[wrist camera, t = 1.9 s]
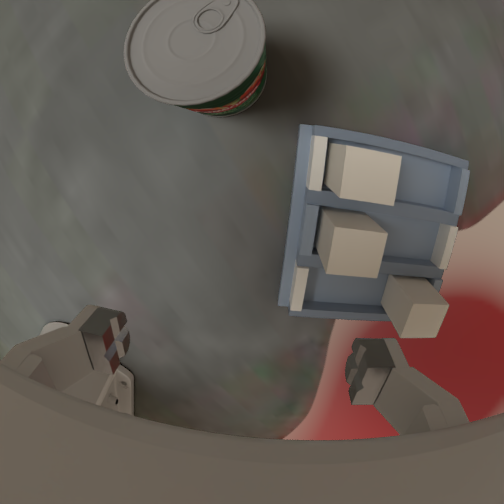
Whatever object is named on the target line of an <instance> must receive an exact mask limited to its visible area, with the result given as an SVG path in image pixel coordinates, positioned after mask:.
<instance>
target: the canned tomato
mask: <svg viewBox="0 0 504 504" xmlns="http://www.w3.org/2000/svg"><path fill="white" fill-rule="evenodd" d="M124 60H125V66H126V69H127V72H128V74H129V76H130V78H131V80H132V81H133V82H134V84H135V85H136V86H137V88H139V89H140V90H141V91H142V92H143V93H145V94H146V95H147V96H149V97H151V98H153V99H155V100H157V101H159V102H163V103H166V104H170V105H175V106H179V107H182V108H186V109H189V110H192V111H195V112H199V113H201V114H204V115H207V116H211V117H227V116H232V115H236V114H238V113H240V112H242V111H244V110H246V109H247V108H249V107H250V106H252V105H253V104H254V103H255V102H256V101H257V100H258V98H259V97H260V95H261V94H262V92H263V90H264V87H265V85H266V80H267V67H266V26H265V23H264V19H263V16H262V14H261V12H260V10H259V9H258V7H257V5H256V4H255V3H254V2H253V1H252V0H151V1H150V2H149V3H148V4H147V5H146V6H145V7H144V8H143V9H142V10H141V11H140V12H139V13H138V15H137V16H136V17H135V19H134V20H133V22H132V24H131V26H130V28H129V30H128V33H127V36H126V40H125V44H124Z"/></svg>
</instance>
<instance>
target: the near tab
mask: <svg viewBox="0 0 504 504" xmlns="http://www.w3.org/2000/svg"><path fill="white" fill-rule="evenodd" d="M401 159H402V156H398V155H394V154H389V153H384V152H380V151H375V150H370V149H365V148H359V147H354V146H348V145H342V144H335V143H329V145H328V154H327V162H326V170H325V178H324V184H325V185H326V186H327V187H328V188H329V189H331V190H332V191H333V192H334V193H335V194H336V195H337V196H338V197H339V198H344V199H351V200H358V201H365V202H371V203H378V204H384V205H390V206H394V202H395V196H396V191H397V185H398V179H399V173H400V166H401Z"/></svg>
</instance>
